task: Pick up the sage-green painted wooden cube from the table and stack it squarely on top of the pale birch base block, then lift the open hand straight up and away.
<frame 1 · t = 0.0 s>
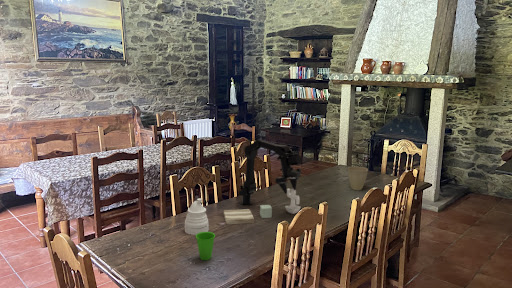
hand: (290, 191, 233), 15 cm above the table, tool pointing down, fingers open, 9 cm apart
plant pot: (356, 189, 295), on the table
birch base: (238, 218, 230), on the table
figurine: (292, 212, 243), on the table
cup: (205, 258, 181), on the table
honey pot: (196, 230, 212), on the table
sage cube: (265, 216, 235), on the table
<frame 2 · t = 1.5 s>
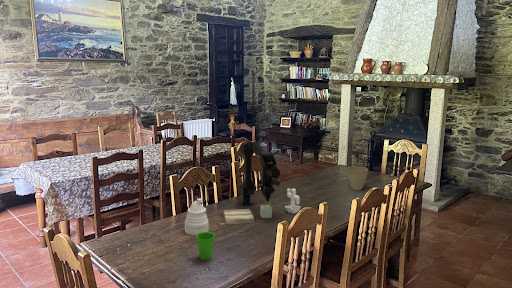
hand: (266, 199, 234), 10 cm above the table, tool pointing down, fingers open, 9 cm apart
nothing on the table moved.
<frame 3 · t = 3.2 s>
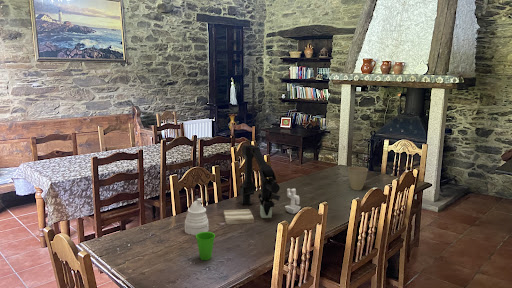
hand: (265, 213, 235), 2 cm above the table, tool pointing down, fingers closed on sage cube, 6 cm apart
sage cube: (265, 215, 235), on the table, touching gripper
everything else where it was.
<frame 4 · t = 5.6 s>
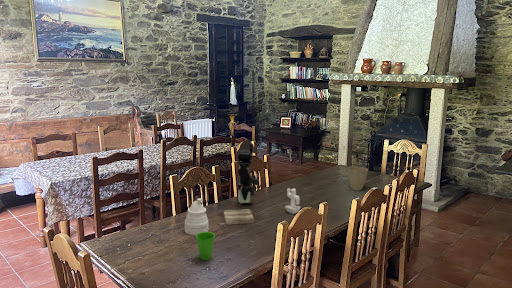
hand: (244, 198, 229), 12 cm above the table, tool pointing down, fingers closed on sage cube, 6 cm apart
sage cube: (244, 201, 229), point 11 cm above the table, touching gripper
everything else where it was.
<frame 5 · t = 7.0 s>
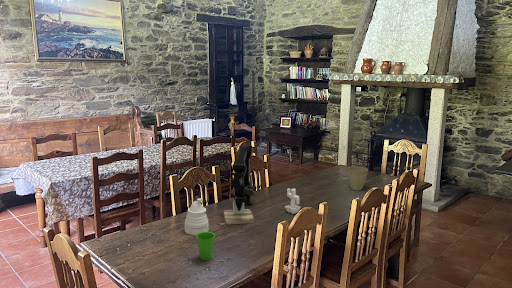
hand: (238, 209, 229), 6 cm above the table, tool pointing down, fingers closed on sage cube, 6 cm apart
sage cube: (238, 211, 230), point 4 cm above the table, touching gripper
everything else where it was.
when the fingers open (5 cm above the table, at t = 7.9 s): sage cube drops 1 cm, resting on birch base.
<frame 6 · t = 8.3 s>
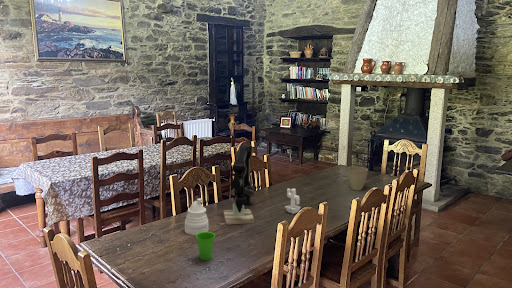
hand: (238, 209, 229), 5 cm above the table, tool pointing down, fingers open, 9 cm apart
sage cube: (238, 214, 230), point 2 cm above the table, touching birch base
everything else where it was.
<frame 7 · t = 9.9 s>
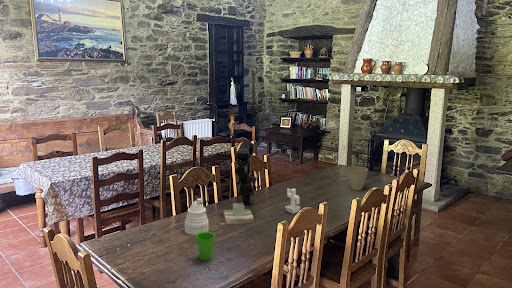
hand: (242, 196, 236), 12 cm above the table, tool pointing down, fingers open, 9 cm apart
nothing on the table moved.
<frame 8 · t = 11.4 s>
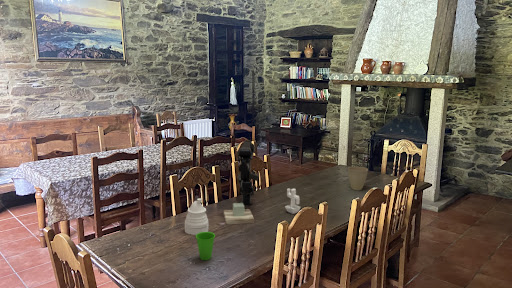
hand: (244, 193, 239), 12 cm above the table, tool pointing down, fingers open, 9 cm apart
nothing on the table moved.
at the end: sage cube inside the target area on the birch base (0.0 cm from its centre), point 2.5 cm above the birch base's base; sage cube tilted 0°; the gripper is holding nothing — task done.
